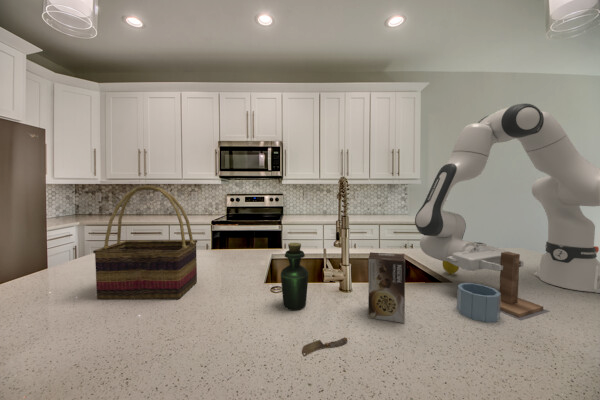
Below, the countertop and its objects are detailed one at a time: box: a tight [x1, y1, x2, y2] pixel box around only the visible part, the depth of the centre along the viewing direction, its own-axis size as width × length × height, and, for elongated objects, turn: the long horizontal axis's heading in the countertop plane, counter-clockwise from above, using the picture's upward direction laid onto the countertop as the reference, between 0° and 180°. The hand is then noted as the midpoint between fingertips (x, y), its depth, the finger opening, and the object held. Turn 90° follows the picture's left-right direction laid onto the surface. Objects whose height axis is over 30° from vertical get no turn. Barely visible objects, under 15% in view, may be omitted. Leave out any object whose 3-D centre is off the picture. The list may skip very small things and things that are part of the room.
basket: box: [92, 184, 198, 300], centre depth 82 cm, size 26×15×35 cm, turn 90°
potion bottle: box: [280, 242, 310, 311], centre depth 72 cm, size 8×8×18 cm
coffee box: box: [367, 252, 406, 324], centre depth 67 cm, size 9×6×16 cm
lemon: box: [442, 261, 460, 275], centre depth 98 cm, size 6×6×8 cm
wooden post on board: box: [497, 251, 544, 318], centre depth 72 cm, size 11×11×15 cm
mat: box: [500, 308, 551, 321], centre depth 72 cm, size 13×13×1 cm
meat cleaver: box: [301, 337, 348, 357], centre depth 54 cm, size 12×1×5 cm
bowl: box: [456, 282, 501, 323], centre depth 67 cm, size 9×9×7 cm
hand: (512, 266), depth 71 cm, fingers open, 8 cm apart
